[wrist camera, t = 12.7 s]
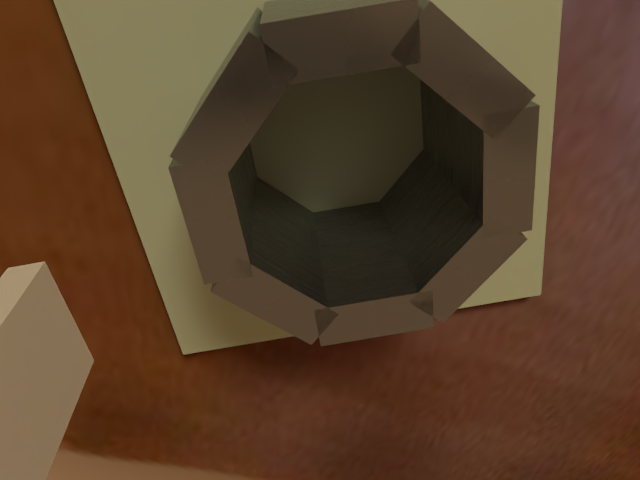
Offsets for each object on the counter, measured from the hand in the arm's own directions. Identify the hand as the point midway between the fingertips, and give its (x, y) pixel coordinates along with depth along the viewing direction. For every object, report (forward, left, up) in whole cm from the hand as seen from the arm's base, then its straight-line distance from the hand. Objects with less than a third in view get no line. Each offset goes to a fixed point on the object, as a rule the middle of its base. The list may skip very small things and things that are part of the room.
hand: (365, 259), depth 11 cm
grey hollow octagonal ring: (0, 0, -11) cm, 11 cm away
